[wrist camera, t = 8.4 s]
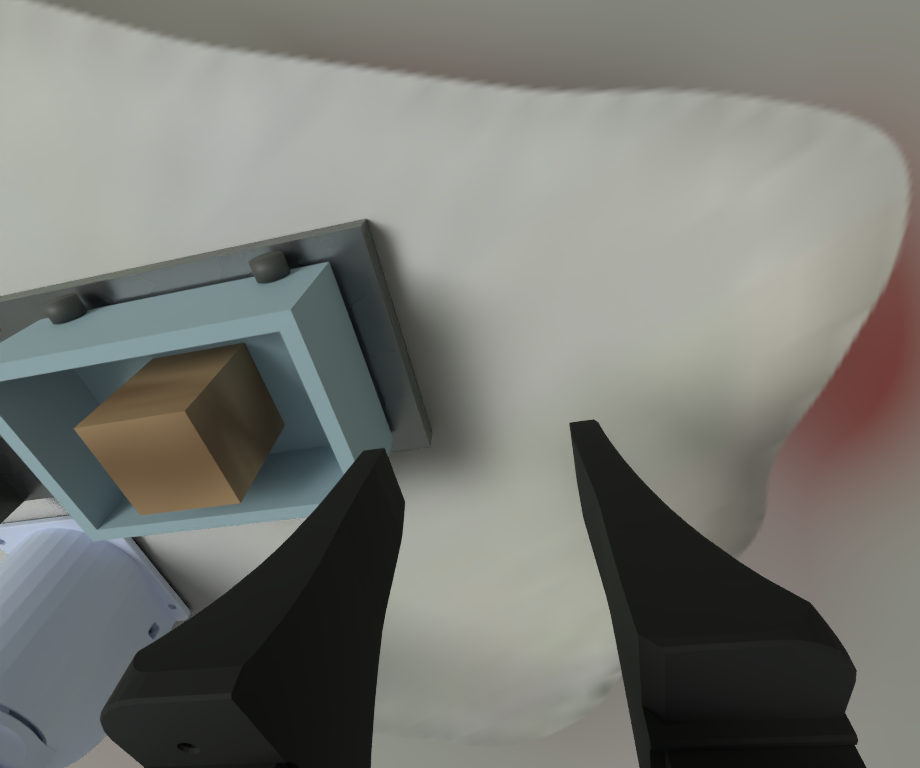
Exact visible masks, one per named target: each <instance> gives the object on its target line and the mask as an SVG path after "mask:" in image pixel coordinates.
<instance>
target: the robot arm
mask: <svg viewBox="0 0 920 768" xmlns="http://www.w3.org/2000/svg"><path fill="white" fill-rule="evenodd" d="M570 431H571V439H572V446H573V454H574V462H575V470H576V478H577V484H578V490H579V496H580V501H581V507H582V512H583V518H584V521H585V525H586V528H587V532H588V535H589V539H590V542H591V545H592V549H593V552H594V556H595V559H596V563H597V566H598V569H599V573H600V576H601V580H602V583H603V587H604V590H605V593H606V597H607V601H608V605H609V609H610V614H611V619H612V624H613V629H614V634H615V639H616V644H617V650H618V655H619V660H620V665H621V671H622V676H623V681H624V686H625V691H626V697H627V702H628V707H629V713H630V718H631V724H632V729H633V734H634V740H635V745H636V751H637V756H638V761H639V767H640V768H866V766H865V764H864V762H863V760H862V759H861V757H860V755H859V753H858V751H857V749H856V747H855V745H857V742H858V738H857V735H856V733H855V731H854V729H853V727H852V725H851V723H850V721H849V719H848V718H847V716H846V714H845V710H846V708H847V704H848V702H849V699H850V696H851V693H852V691H853V688H854V685H855V682H856V671H857V670H856V668H855V666H854V665H853V663H852V661H851V659H850V657H849V655H848V653H847V651H846V649H845V648H844V646H843V645H842V643H841V642H840V641H839V639H838V637H837V636H836V635H835V633H834V632H833V631H832V629H831V628H830V627H829V625H828V624H827V623H826V622H825V620H824V619H823V618H822V616H821V615H820V614H819V613H818V611H817V610H816V609H815V608H814V607H813V605H812V604H811V603H810V602H808V601H806V600H804V599H802V598H801V597H799V596H797V595H795V594H793V593H791V592H790V591H788V590H786V589H784V588H782V587H780V586H779V585H777V584H775V583H773V582H771V581H770V580H768V579H766V578H764V577H763V576H761V575H759V574H758V573H756V572H755V571H753V570H752V569H750V568H748V567H747V566H745V565H744V564H742V563H740V562H739V561H738V560H736V559H735V558H733V557H732V556H730V555H729V554H728V553H726V552H725V551H723V550H722V549H721V548H719V547H718V546H716V545H715V544H714V543H712V542H711V541H709V540H708V539H707V538H705V537H704V536H703V535H701V534H700V533H699V532H698V531H696V530H695V529H694V528H693V527H691V526H690V525H689V524H688V523H686V522H685V521H684V520H683V519H682V518H681V517H679V516H678V515H677V514H676V513H675V512H674V511H673V510H671V509H670V508H669V507H668V506H667V505H666V504H665V503H664V502H663V501H662V500H661V499H660V498H659V497H658V496H657V495H656V494H655V493H654V492H653V491H652V490H651V489H650V488H649V487H648V486H647V485H646V484H645V483H644V482H643V481H642V480H641V479H640V478H639V476H638V475H637V474H636V473H635V472H634V471H633V470H632V468H631V467H630V466H629V465H628V464H627V463H626V461H625V460H624V459H623V458H622V457H621V455H620V454H619V453H618V451H617V450H616V449H615V447H614V446H613V445H612V443H611V442H610V441H609V439H608V438H607V436H606V435H605V433H604V431H603V430H602V428H601V426H600V424H599V423H598V422H597V421H595V420H587V421H579V422H572V423H570ZM404 509H405V501H404V498H403V495H402V493H401V490H400V487H399V485H398V482H397V479H396V477H395V474H394V471H393V469H392V466H391V463H390V461H389V458H388V455H387V453H386V450H385V448H379V449H371V450H364V451H363V452H362V453H361V454H360V455H359V456H358V458H357V459H356V460H355V461H354V462H353V464H352V465H351V466H350V467H349V469H348V470H347V471H346V473H345V474H344V475H343V476H342V478H341V479H340V480H339V481H338V483H337V484H336V485H335V486H334V487H333V489H332V490H331V491H330V492H329V493H328V495H327V496H326V497H325V498H324V500H323V501H322V502H321V503H320V504H319V505H318V507H317V508H316V509H315V510H314V511H313V512H312V513H311V514H310V515H309V517H308V518H307V519H306V520H305V521H304V522H303V523H302V524H301V525H300V526H299V528H298V529H297V530H296V531H295V532H294V533H293V534H292V535H291V536H290V537H289V538H288V539H287V540H286V541H285V542H284V543H283V544H282V545H281V546H280V547H279V548H278V549H277V550H276V551H275V552H274V553H273V554H271V555H270V556H269V557H268V558H267V559H266V560H265V561H264V562H263V563H262V564H261V565H259V566H258V567H257V568H256V569H255V570H253V571H252V572H251V573H250V574H249V575H247V576H246V577H245V578H244V579H242V580H241V581H240V582H239V583H238V584H236V585H235V586H234V587H233V588H232V589H230V590H229V591H228V592H226V593H225V594H224V595H222V596H221V597H220V598H218V599H217V600H216V601H214V602H213V603H212V604H210V605H209V606H208V607H206V608H205V609H203V610H202V611H200V612H199V613H198V614H196V615H195V616H193V617H192V618H190V619H189V620H187V619H188V618H189V616H190V614H191V612H190V610H189V609H188V608H187V606H186V605H185V604H184V603H183V601H182V600H181V599H180V598H179V596H178V595H177V594H176V593H175V591H174V590H173V589H172V588H171V586H170V585H169V584H168V583H167V581H166V580H165V579H164V578H163V576H162V575H161V574H160V573H159V572H158V570H157V569H156V568H155V567H154V565H153V564H152V563H151V562H150V560H149V559H148V558H147V557H146V555H145V554H144V553H143V552H142V550H141V549H140V548H139V547H138V545H137V544H136V543H135V542H134V540H133V539H132V538H131V537H128V538H119V539H111V540H102V541H92V540H91V539H90V538H89V537H88V535H87V534H86V533H85V532H84V531H83V530H82V528H81V527H80V526H79V525H78V524H77V523H76V522H75V520H74V519H73V518H72V517H71V516H70V515H69V516H61V517H53V518H45V519H37V520H29V521H21V522H13V523H5V524H0V549H1V550H2V551H3V552H4V553H5V554H6V555H7V556H6V557H5V558H4V559H3V560H2V561H1V562H0V768H64V767H66V766H68V765H70V764H72V763H74V762H76V761H77V760H79V759H81V758H82V757H83V756H85V755H86V754H87V753H89V752H90V751H91V750H92V749H93V748H94V747H95V746H96V745H97V744H99V743H100V742H101V741H102V740H103V739H104V738H105V737H106V736H107V735H108V736H109V737H110V738H111V740H112V741H114V742H115V743H116V744H117V745H119V746H120V747H121V748H122V749H123V750H124V751H126V752H127V753H128V754H129V755H130V756H132V757H133V758H134V759H135V760H136V761H138V762H139V763H140V764H141V765H142V766H144V768H371V749H372V735H373V721H374V707H375V696H376V685H377V674H378V664H379V656H380V647H381V638H382V630H383V624H384V618H385V613H386V608H387V604H388V599H389V595H390V590H391V586H392V581H393V577H394V572H395V568H396V563H397V559H398V554H399V549H400V544H401V540H402V533H403V522H404ZM184 620H187V621H186V622H184V623H183V624H181V625H180V626H178V627H177V628H175V629H173V630H172V631H170V630H171V628H172V627H173V625H174V623H175V621H184Z"/></svg>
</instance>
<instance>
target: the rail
mask: <svg viewBox="0 0 920 768" xmlns="http://www.w3.org/2000/svg"><path fill="white" fill-rule="evenodd" d="M272 251H282V252H283V254H284V257H285V259H286V262H287V264H288V266H289V269H295V268H300V267H305V266H310V265H315V264H320V263H325V262H329V263H330V265H331V268H332V271H333V274H334V276H335V279H336V282H337V285H338V287H339V290H340V293H341V296H342V299H343V301H344V304H345V307H346V310H347V312H348V315H349V318H350V321H351V323H352V326H353V329H354V332H355V335H356V337H357V340H358V343H359V346H360V348H361V351H362V354H363V357H364V359H365V362H366V365H367V368H368V371H369V373H370V376H371V379H372V382H373V384H374V387H375V390H376V393H377V396H378V398H379V401H380V404H381V407H382V409H383V412H384V415H385V418H386V420H387V423H388V426H389V429H390V432H391V434H392V437H393V443H392V447H391V451H390V452H395V451H403V450H410V449H418V448H425V447H430V444H431V438H432V431H431V427H430V424H429V421H428V418H427V414H426V411H425V408H424V405H423V401H422V398H421V395H420V392H419V388H418V385H417V382H416V379H415V375H414V372H413V369H412V366H411V362H410V359H409V356H408V353H407V349H406V346H405V343H404V340H403V336H402V333H401V330H400V327H399V323H398V320H397V317H396V314H395V310H394V307H393V304H392V301H391V297H390V294H389V291H388V288H387V284H386V281H385V278H384V275H383V271H382V268H381V265H380V262H379V258H378V255H377V252H376V249H375V245H374V242H373V239H372V236H371V232H370V229H369V226H368V223H367V219H363V220H358V221H354V222H349V223H344V224H339V225H335V226H330V227H325V228H321V229H316V230H311V231H306V232H302V233H297V234H292V235H288V236H283V237H278V238H273V239H269V240H264V241H259V242H255V243H250V244H245V245H240V246H236V247H231V248H226V249H222V250H217V251H212V252H208V253H203V254H198V255H193V256H189V257H184V258H179V259H175V260H170V261H165V262H160V263H156V264H151V265H146V266H142V267H137V268H132V269H127V270H123V271H118V272H113V273H109V274H104V275H99V276H94V277H90V278H85V279H80V280H76V281H71V282H66V283H61V284H57V285H52V286H47V287H43V288H38V289H33V290H28V291H24V292H19V293H14V294H10V295H5V296H0V343H1V342H2V341H4V340H6V339H8V338H9V337H11V336H13V335H15V334H16V333H18V332H20V331H21V330H23V329H25V328H27V327H28V326H30V325H32V324H33V323H35V322H37V321H39V320H40V319H45V318H48V316H47V315H46V313H45V312H44V311H43V309H42V308H41V305H42V304H43V303H45V302H47V301H49V300H51V299H54V298H57V297H59V296H62V295H66V294H70V293H76V294H77V295H78V297H79V298H80V300H81V301H82V303H83V304H84V306H85V307H86V309H87V310H90V309H95V308H100V307H105V306H110V305H115V304H120V303H125V302H130V301H135V300H140V299H145V298H150V297H155V296H160V295H165V294H170V293H175V292H180V291H185V290H190V289H195V288H200V287H205V286H210V285H215V284H220V283H225V282H230V281H235V280H240V279H245V278H250V277H254V275H253V272H252V270H251V268H250V266H249V263H248V262H249V260H251V259H252V258H254V257H256V256H259V255H261V254H264V253H268V252H272ZM50 497H54V496H53V495H52V494H51V493H50V492H49V490H48V489H47V488H46V487H45V486H44V485H43V484H42V482H41V481H40V480H39V479H38V478H37V477H36V475H35V474H34V473H33V472H32V471H31V470H30V469H29V467H28V466H27V465H26V464H25V463H24V462H23V460H22V459H21V458H20V457H19V456H18V455H17V454H16V452H15V451H14V450H13V449H12V448H11V447H10V446H9V444H8V443H7V442H6V441H5V440H4V439H3V437H2V436H1V435H0V524H1V523H2V522H3V521H4V520H5V519H6V518H7V517H8V516H9V515H10V514H11V513H12V512H13V511H14V510H15V509H16V508H17V507H19V506H20V505H21V504H22V503H23V502H24V501H27V500H35V499H42V498H50Z"/></svg>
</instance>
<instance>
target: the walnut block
mask: <svg viewBox="0 0 920 768" xmlns="http://www.w3.org/2000/svg"><path fill="white" fill-rule="evenodd" d="M284 426H285V424H284V422H283V420H282V418H281V416H280V414H279V411H278V409H277V407H276V405H275V403H274V401H273V399H272V397H271V395H270V393H269V391H268V389H267V387H266V385H265V383H264V381H263V379H262V377H261V375H260V373H259V371H258V369H257V367H256V365H255V363H254V361H253V359H252V357H251V354H250V352H249V350H248V348H247V346H246V344H245V342H244V343H239V344H233V345H227V346H222V347H216V348H210V349H205V350H199V351H193V352H188V353H182V354H176V355H171V356H165V357H159V358H154V359H152V360H150V361H149V362H148V363H147V364H146V365H145V366H144V367H143V368H141V369H140V370H139V371H138V372H137V373H136V374H135V375H133V376H132V377H131V378H130V379H129V380H128V381H127V382H126V383H124V384H123V385H122V386H121V387H120V388H119V389H118V390H117V391H115V392H114V393H113V394H112V395H111V396H110V397H109V398H107V399H106V400H105V401H104V402H103V403H102V404H101V405H100V406H98V407H97V408H96V409H95V410H94V411H93V412H92V413H91V414H89V415H88V416H87V417H86V418H85V419H84V420H83V421H81V422H80V423H79V424H78V425H77V426H76V427H75V428H74V430H75V431H76V432H77V434H78V435H79V436H80V438H81V439H82V440H83V441H84V443H85V444H86V445H87V447H88V448H89V449H90V451H91V452H92V453H93V455H94V456H95V457H96V458H97V460H98V461H99V462H100V464H101V465H102V466H103V468H104V469H105V470H106V472H107V473H108V474H109V475H110V477H111V478H112V479H113V481H114V482H115V483H116V485H117V486H118V487H119V489H120V490H121V491H122V492H123V494H124V495H125V496H126V498H127V499H128V500H129V502H130V503H131V504H132V506H133V507H134V508H135V509H136V511H137V512H138V513H139V515H148V514H157V513H165V512H173V511H181V510H190V509H198V508H206V507H214V506H223V505H231V504H239V503H241V502H242V500H243V498H244V497H245V495H246V493H247V491H248V490H249V488H250V486H251V484H252V482H253V481H254V479H255V477H256V475H257V474H258V472H259V470H260V468H261V467H262V465H263V463H264V461H265V460H266V458H267V456H268V454H269V453H270V451H271V449H272V447H273V446H274V444H275V442H276V440H277V439H278V437H279V435H280V433H281V431H282V430H283V428H284Z"/></svg>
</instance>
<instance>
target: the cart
mask: <svg viewBox="0 0 920 768" xmlns="http://www.w3.org/2000/svg"><path fill="white" fill-rule="evenodd" d="M248 263H249V266H250V268H251V270H252V272H253V275H254V277H250V278H245V279H240V280H235V281H230V282H225V283H220V284H215V285H210V286H205V287H200V288H195V289H190V290H185V291H180V292H175V293H170V294H165V295H160V296H155V297H150V298H145V299H140V300H135V301H130V302H125V303H120V304H115V305H110V306H105V307H100V308H95V309H90V310H87V309H86V307H85V306H84V304H83V303H82V301H81V300H80V298H79V297H78V295H77V294H76V293H70V294H66V295H62V296H59V297H57V298H54V299H51V300H49V301H47V302H45V303H43V304H42V305H41V308H42V309H43V311H44V312H45V313H46V315H47V316H48V318H45V319H40V320H39V321H37V322H35V323H33V324H32V325H30V326H28V327H27V328H25V329H23V330H21V331H20V332H18V333H16V334H15V335H13V336H11V337H9V338H8V339H6V340H4V341H2V342H1V343H0V435H1V436H2V437H3V439H4V440H5V441H6V442H7V443H8V444H9V446H10V447H11V448H12V449H13V450H14V451H15V452H16V454H17V455H18V456H19V457H20V458H21V459H22V460H23V462H24V463H25V464H26V465H27V466H28V467H29V469H30V470H31V471H32V472H33V473H34V474H35V475H36V477H37V478H38V479H39V480H40V481H41V482H42V484H43V485H44V486H45V487H46V488H47V489H48V490H49V492H50V493H51V494H52V495H53V496H54V497H55V498H56V500H57V501H58V502H59V503H60V504H61V505H62V507H63V508H64V509H65V510H66V511H67V512H68V513H69V515H70V516H71V517H72V518H73V519H74V520H75V522H76V523H77V524H78V525H79V526H80V527H81V528H82V530H83V531H84V532H85V533H86V534H87V535H88V537H89V538H90V539H91V540H92V541H102V540H111V539H119V538H128V537H137V536H145V535H154V534H163V533H172V532H180V531H189V530H198V529H206V528H215V527H224V526H232V525H241V524H250V523H259V522H267V521H276V520H285V519H293V518H302V517H309V515H310V514H311V513H312V512H313V511H314V510H315V509H316V508H317V507H318V505H319V504H320V503H321V502H322V501H323V500H324V498H325V497H326V496H327V495H328V493H329V492H330V491H331V490H332V489H333V487H334V486H335V485H336V484H337V483H338V481H339V480H340V479H341V478H342V476H343V475H344V474H345V473H346V471H347V470H348V469H349V467H350V466H351V465H352V464H353V462H354V461H355V460H356V459H357V458H358V456H359V455H360V454H361V453H362V452H363V451H364V450H371V449H379V448H385V450H386V453H387V455H388V458H389V455H390V451H391V447H392V443H393V437H392V434H391V432H390V429H389V426H388V423H387V420H386V418H385V415H384V412H383V409H382V407H381V404H380V401H379V398H378V396H377V393H376V390H375V387H374V384H373V382H372V379H371V376H370V373H369V371H368V368H367V365H366V362H365V359H364V357H363V354H362V351H361V348H360V346H359V343H358V340H357V337H356V335H355V332H354V329H353V326H352V323H351V321H350V318H349V315H348V312H347V310H346V307H345V304H344V301H343V299H342V296H341V293H340V290H339V287H338V285H337V282H336V279H335V276H334V274H333V271H332V268H331V265H330V263H329V262H325V263H320V264H315V265H310V266H305V267H300V268H295V269H289V266H288V264H287V262H286V259H285V257H284V254H283V252H282V251H272V252H268V253H264V254H261V255H259V256H256V257H254V258H252V259H251V260H249V262H248ZM244 342H245V344H246V346H247V348H248V350H249V352H250V354H251V357H252V359H253V361H254V363H255V365H256V367H257V369H258V371H259V373H260V375H261V377H262V379H263V381H264V383H265V385H266V387H267V389H268V391H269V393H270V395H271V397H272V399H273V401H274V403H275V405H276V407H277V409H278V411H279V414H280V416H281V418H282V420H283V422H284V424H285V426H284V428H283V430H282V431H281V433H280V435H279V437H278V439H277V440H276V442H275V444H274V446H273V447H272V449H271V451H270V453H269V454H268V456H267V458H266V460H265V461H264V463H263V465H262V467H261V468H260V470H259V472H258V474H257V475H256V477H255V479H254V481H253V482H252V484H251V486H250V488H249V490H248V491H247V493H246V495H245V497H244V498H243V500H242V502H241V503H239V504H231V505H223V506H214V507H206V508H198V509H190V510H181V511H173V512H165V513H157V514H148V515H139V513H138V512H137V511H136V509H135V508H134V507H133V506H132V504H131V503H130V502H129V500H128V499H127V498H126V496H125V495H124V494H123V492H122V491H121V490H120V489H119V487H118V486H117V485H116V483H115V482H114V481H113V479H112V478H111V477H110V475H109V474H108V473H107V472H106V470H105V469H104V468H103V466H102V465H101V464H100V462H99V461H98V460H97V458H96V457H95V456H94V455H93V453H92V452H91V451H90V449H89V448H88V447H87V445H86V444H85V443H84V441H83V440H82V439H81V438H80V436H79V435H78V434H77V432H76V431H75V430H74V428H75V427H76V426H77V425H78V424H79V423H80V422H81V421H83V420H84V419H85V418H86V417H87V416H88V415H89V414H91V413H92V412H93V411H94V410H95V409H96V408H97V407H98V406H100V405H101V404H102V403H103V402H104V401H105V400H106V399H107V398H109V397H110V396H111V395H112V394H113V393H114V392H115V391H117V390H118V389H119V388H120V387H121V386H122V385H123V384H124V383H126V382H127V381H128V380H129V379H130V378H131V377H132V376H133V375H135V374H136V373H137V372H138V371H139V370H140V369H141V368H143V367H144V366H145V365H146V364H147V363H148V362H149V361H150V360H152V359H154V358H159V357H165V356H171V355H176V354H182V353H188V352H193V351H199V350H205V349H210V348H216V347H222V346H227V345H233V344H239V343H244Z"/></svg>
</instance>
